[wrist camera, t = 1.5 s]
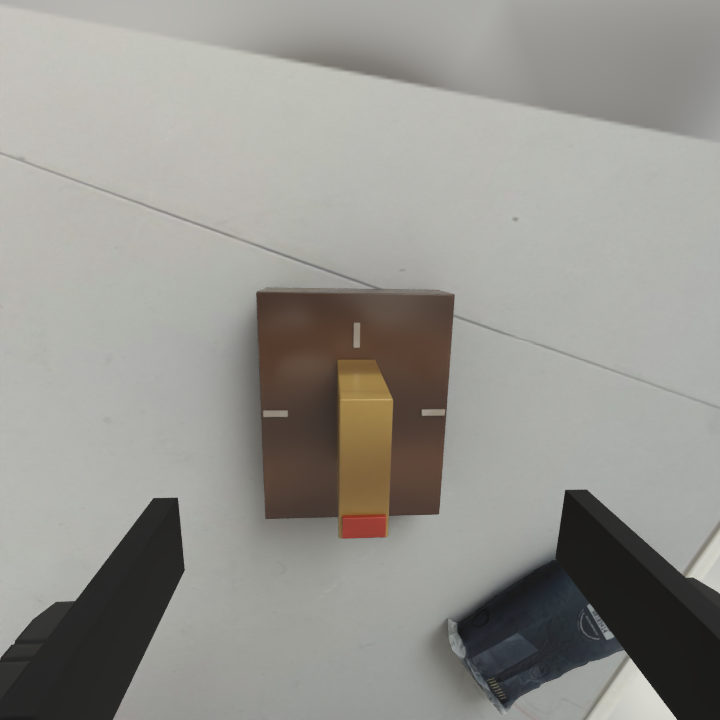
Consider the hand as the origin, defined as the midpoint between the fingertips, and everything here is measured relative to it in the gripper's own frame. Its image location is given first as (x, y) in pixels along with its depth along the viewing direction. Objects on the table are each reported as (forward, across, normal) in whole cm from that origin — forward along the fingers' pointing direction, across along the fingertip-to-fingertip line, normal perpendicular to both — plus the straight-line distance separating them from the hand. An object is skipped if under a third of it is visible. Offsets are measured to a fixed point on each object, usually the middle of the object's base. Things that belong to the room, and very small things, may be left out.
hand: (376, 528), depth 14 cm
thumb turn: (+11, 0, 0) cm, 11 cm away
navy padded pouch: (+15, +16, -18) cm, 28 cm away
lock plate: (+14, 0, 0) cm, 14 cm away
